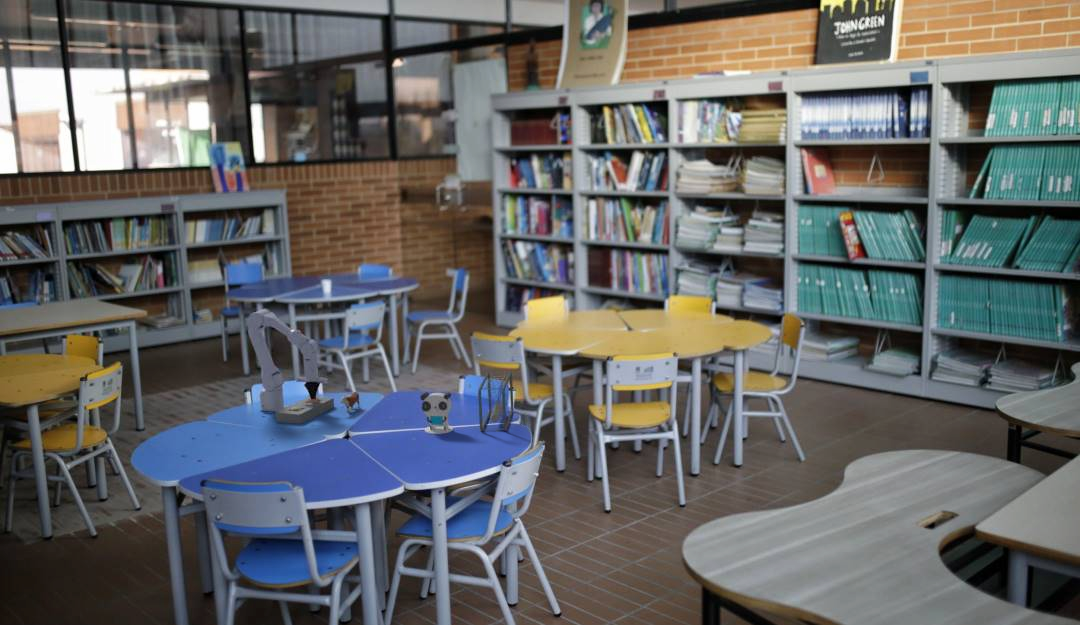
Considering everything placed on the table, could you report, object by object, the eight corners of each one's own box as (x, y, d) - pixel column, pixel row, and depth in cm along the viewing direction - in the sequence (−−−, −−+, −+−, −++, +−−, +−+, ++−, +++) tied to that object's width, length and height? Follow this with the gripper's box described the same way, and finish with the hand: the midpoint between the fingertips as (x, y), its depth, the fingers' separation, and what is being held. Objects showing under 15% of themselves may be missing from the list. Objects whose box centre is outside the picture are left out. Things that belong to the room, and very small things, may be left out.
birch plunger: (289, 417, 405) (288, 409, 404) (295, 414, 409) (294, 406, 408) (298, 418, 403) (297, 410, 402) (304, 415, 407) (303, 407, 407)
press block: (276, 421, 402) (275, 412, 401) (310, 405, 426) (310, 396, 425) (300, 423, 398) (300, 414, 397) (334, 406, 422) (333, 398, 421)
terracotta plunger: (306, 407, 416) (306, 399, 416) (312, 404, 421) (311, 396, 420) (315, 407, 415) (314, 400, 414) (321, 405, 419) (320, 397, 418)
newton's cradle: (506, 432, 377) (504, 388, 374) (479, 433, 378) (477, 389, 374) (513, 411, 406) (512, 370, 403) (489, 411, 407) (487, 370, 404)
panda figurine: (419, 433, 379) (416, 396, 377) (428, 425, 390) (426, 389, 388) (447, 434, 377) (445, 397, 374) (457, 426, 387) (455, 390, 385)
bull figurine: (339, 415, 409) (337, 396, 408) (354, 406, 422) (352, 388, 420) (348, 415, 408) (347, 397, 406) (363, 407, 420) (361, 389, 419)
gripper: (291, 369, 413) (293, 400, 416) (320, 371, 409) (322, 402, 411) (300, 365, 420) (303, 395, 422) (329, 367, 415) (331, 397, 418)
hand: (313, 398), depth 417 cm, fingers closed, pressing on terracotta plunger
